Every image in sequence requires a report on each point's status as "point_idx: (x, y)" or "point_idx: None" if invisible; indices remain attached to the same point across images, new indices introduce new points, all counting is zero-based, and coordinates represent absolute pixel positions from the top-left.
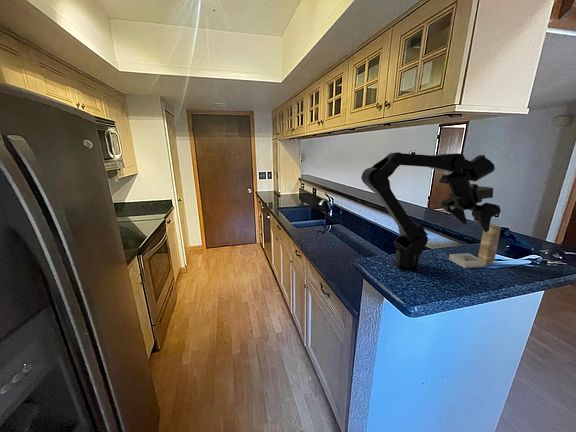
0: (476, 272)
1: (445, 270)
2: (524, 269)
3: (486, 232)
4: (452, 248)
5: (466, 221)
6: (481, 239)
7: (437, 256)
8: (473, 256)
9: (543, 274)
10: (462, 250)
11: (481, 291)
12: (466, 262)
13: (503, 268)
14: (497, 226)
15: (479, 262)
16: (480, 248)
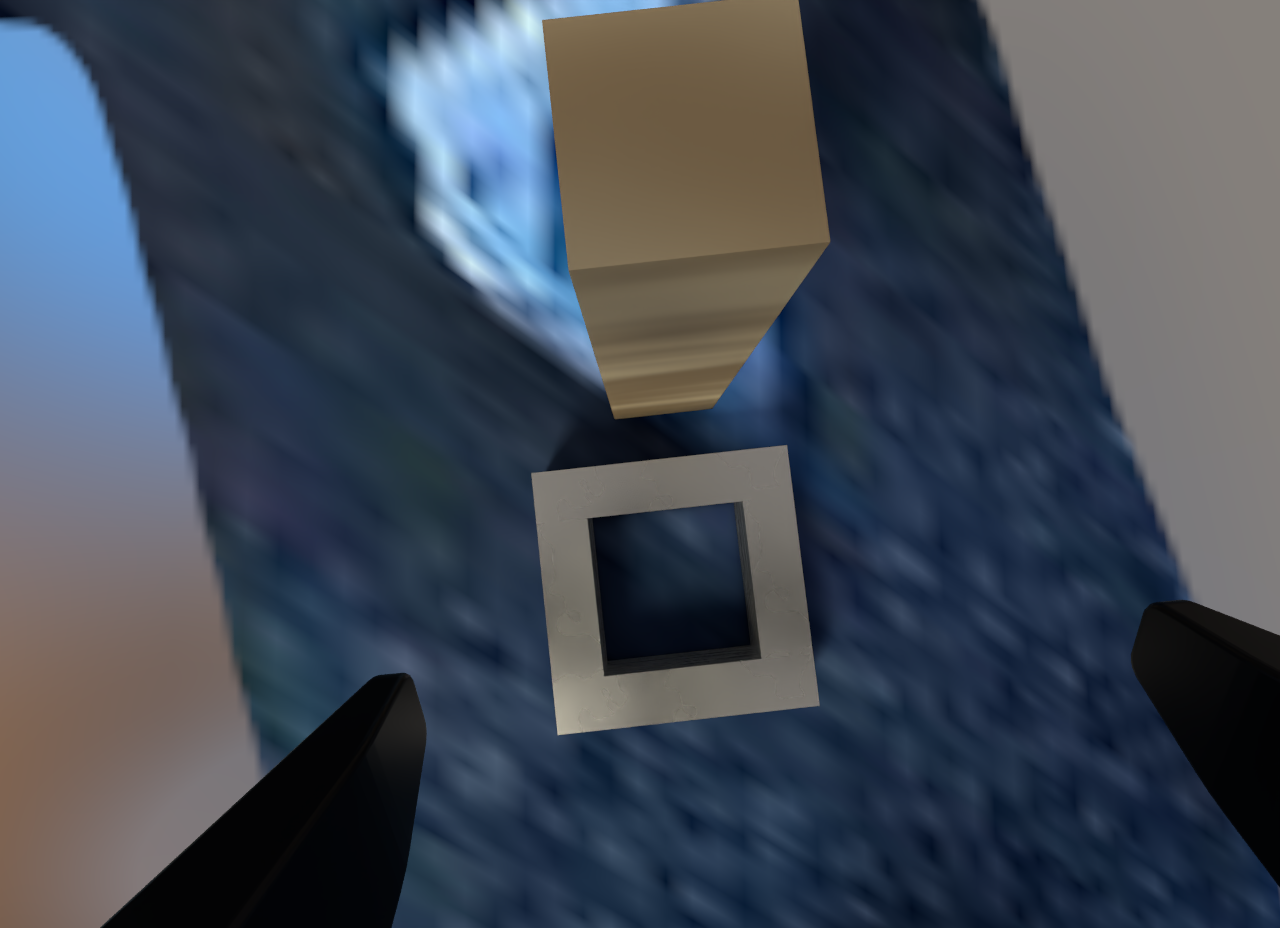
0: (882, 618)
1: (846, 918)
2: None
3: (676, 317)
4: (217, 444)
5: (390, 708)
6: (599, 366)
7: (469, 786)
8: (629, 481)
9: (903, 14)
10: (287, 365)
11: None
12: (810, 689)
13: None
14: (778, 73)
15: (795, 529)
16: (619, 393)
